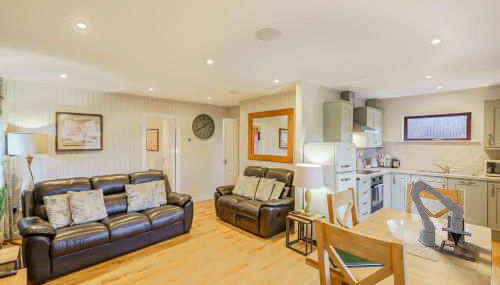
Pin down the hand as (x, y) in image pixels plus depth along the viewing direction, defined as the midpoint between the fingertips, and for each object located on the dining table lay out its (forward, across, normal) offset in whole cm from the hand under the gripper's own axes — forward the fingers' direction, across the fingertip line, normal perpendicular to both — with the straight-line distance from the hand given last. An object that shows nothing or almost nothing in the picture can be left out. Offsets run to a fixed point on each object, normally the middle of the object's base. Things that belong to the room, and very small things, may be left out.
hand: (456, 244), depth 156 cm
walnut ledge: (+3, +4, -4) cm, 7 cm away
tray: (+3, -4, -4) cm, 6 cm away
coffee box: (+3, -1, +16) cm, 16 cm away
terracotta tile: (+2, -3, 0) cm, 3 cm away
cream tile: (+2, -3, -8) cm, 9 cm away
